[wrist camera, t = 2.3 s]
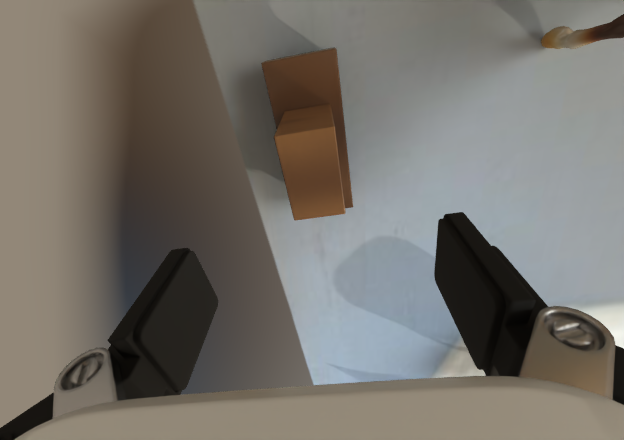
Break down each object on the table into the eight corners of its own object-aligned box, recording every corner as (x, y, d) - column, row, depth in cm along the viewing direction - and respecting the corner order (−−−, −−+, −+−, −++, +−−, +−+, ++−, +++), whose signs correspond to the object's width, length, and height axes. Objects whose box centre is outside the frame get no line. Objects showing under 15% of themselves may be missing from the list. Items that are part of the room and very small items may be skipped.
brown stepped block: (349, 190, 30) (362, 251, 21) (298, 197, 30) (291, 260, 22) (333, 46, 23) (343, 52, 14) (268, 59, 23) (240, 73, 15)
